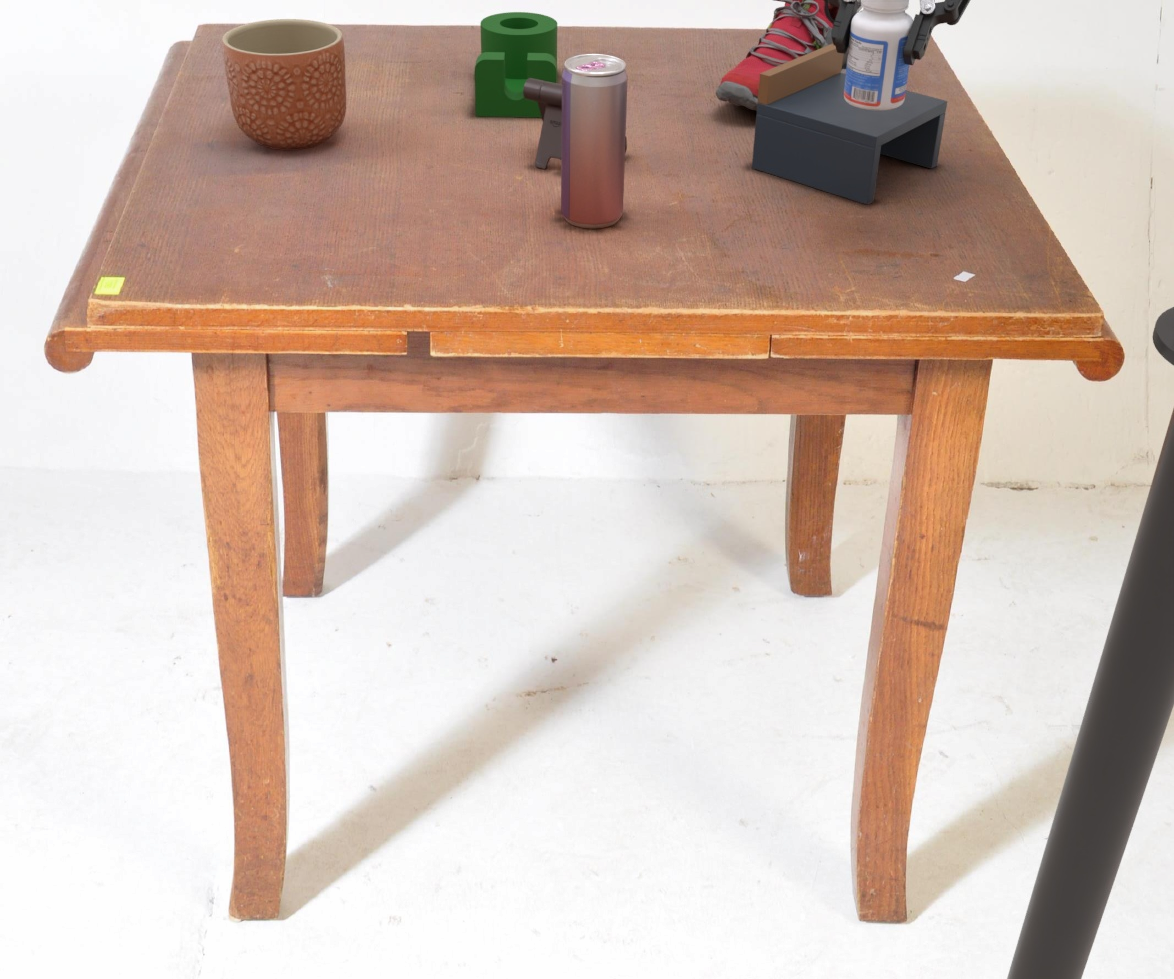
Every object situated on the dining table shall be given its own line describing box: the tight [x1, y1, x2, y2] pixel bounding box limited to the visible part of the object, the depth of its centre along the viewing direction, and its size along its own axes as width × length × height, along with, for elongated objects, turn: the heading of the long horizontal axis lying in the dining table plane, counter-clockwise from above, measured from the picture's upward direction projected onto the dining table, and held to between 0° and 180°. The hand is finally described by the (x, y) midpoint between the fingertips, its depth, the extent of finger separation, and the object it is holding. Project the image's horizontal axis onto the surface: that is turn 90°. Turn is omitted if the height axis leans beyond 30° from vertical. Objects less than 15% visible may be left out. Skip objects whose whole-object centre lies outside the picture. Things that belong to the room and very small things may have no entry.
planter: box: [221, 18, 347, 151], centre depth 151 cm, size 12×12×11 cm
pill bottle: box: [844, 0, 914, 110], centre depth 125 cm, size 6×5×10 cm
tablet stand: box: [523, 78, 628, 170], centre depth 148 cm, size 9×8×8 cm
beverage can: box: [560, 53, 629, 230], centre depth 134 cm, size 6×6×15 cm
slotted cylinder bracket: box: [474, 11, 558, 118], centre depth 166 cm, size 18×9×6 cm, turn 1°
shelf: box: [751, 44, 948, 205], centre depth 147 cm, size 14×14×10 cm
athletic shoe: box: [715, 0, 849, 112], centre depth 164 cm, size 12×25×12 cm, turn 128°
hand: (874, 54), depth 123 cm, fingers closed on pill bottle, 5 cm apart
